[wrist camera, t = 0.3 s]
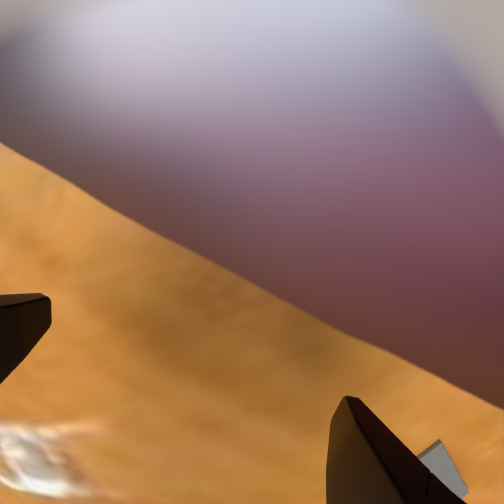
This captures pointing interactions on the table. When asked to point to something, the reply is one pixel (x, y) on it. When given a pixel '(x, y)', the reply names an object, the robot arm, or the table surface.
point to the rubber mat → (443, 468)
